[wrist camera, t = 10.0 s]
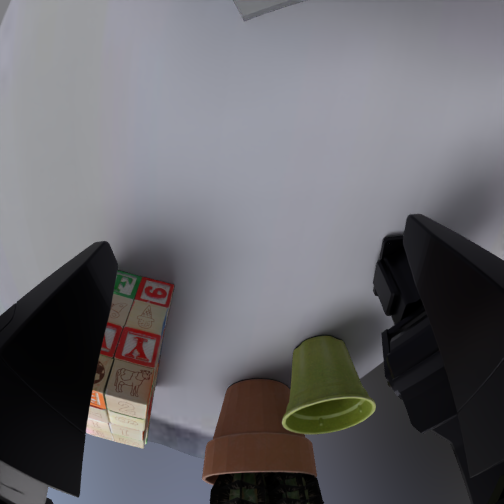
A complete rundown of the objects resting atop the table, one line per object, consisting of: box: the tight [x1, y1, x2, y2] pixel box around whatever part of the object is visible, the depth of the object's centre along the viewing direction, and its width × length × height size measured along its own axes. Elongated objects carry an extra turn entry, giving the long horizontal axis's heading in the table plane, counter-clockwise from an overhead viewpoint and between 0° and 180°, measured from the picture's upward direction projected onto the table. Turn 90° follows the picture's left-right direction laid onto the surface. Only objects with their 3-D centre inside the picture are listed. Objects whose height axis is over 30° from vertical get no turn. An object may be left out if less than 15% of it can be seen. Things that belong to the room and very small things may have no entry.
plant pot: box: [282, 336, 376, 434], centre depth 31 cm, size 9×9×9 cm
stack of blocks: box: [86, 270, 174, 448], centre depth 28 cm, size 21×6×12 cm, turn 162°
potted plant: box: [202, 379, 324, 504], centre depth 30 cm, size 14×14×25 cm
